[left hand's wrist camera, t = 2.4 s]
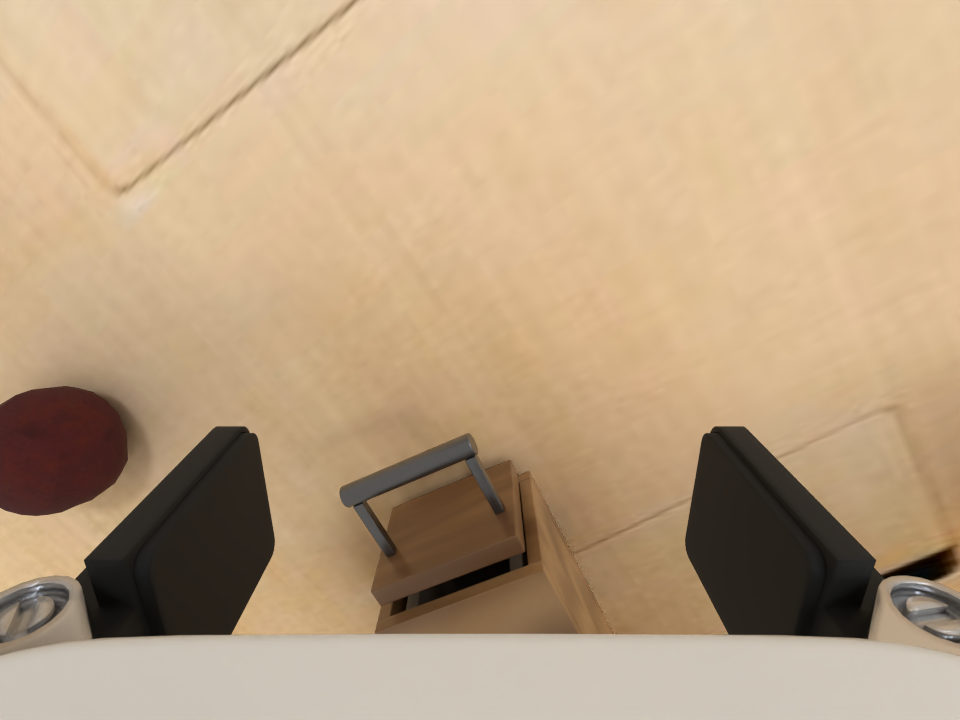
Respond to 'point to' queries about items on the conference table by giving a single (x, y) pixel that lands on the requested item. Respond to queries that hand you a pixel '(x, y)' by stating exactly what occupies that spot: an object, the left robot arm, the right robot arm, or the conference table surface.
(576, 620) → the cabinet
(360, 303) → the conference table surface
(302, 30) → the conference table surface
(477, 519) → the drawer
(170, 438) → the conference table surface
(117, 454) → the potato
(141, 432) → the conference table surface
